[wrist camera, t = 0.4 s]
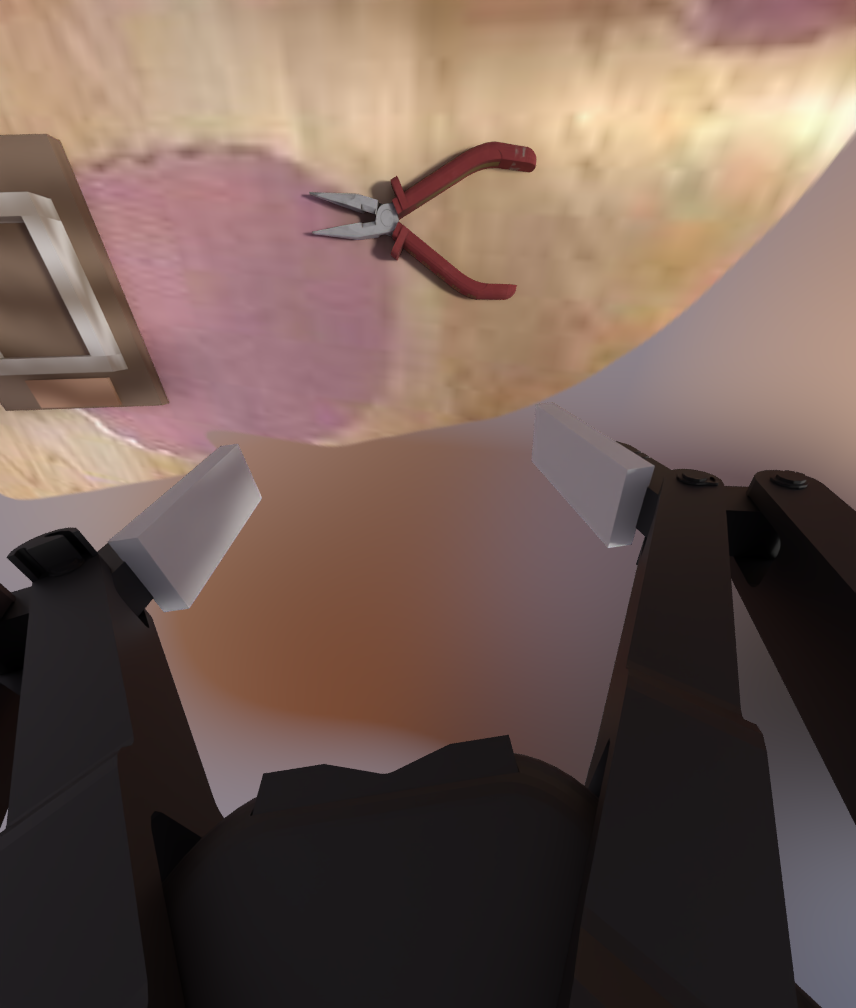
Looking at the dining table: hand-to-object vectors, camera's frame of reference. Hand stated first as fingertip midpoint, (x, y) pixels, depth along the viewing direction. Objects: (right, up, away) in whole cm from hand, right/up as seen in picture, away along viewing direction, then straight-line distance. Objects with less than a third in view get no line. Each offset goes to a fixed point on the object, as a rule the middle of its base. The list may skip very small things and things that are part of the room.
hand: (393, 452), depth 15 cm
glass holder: (-39, +19, +19) cm, 47 cm away
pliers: (+2, +26, +17) cm, 31 cm away
